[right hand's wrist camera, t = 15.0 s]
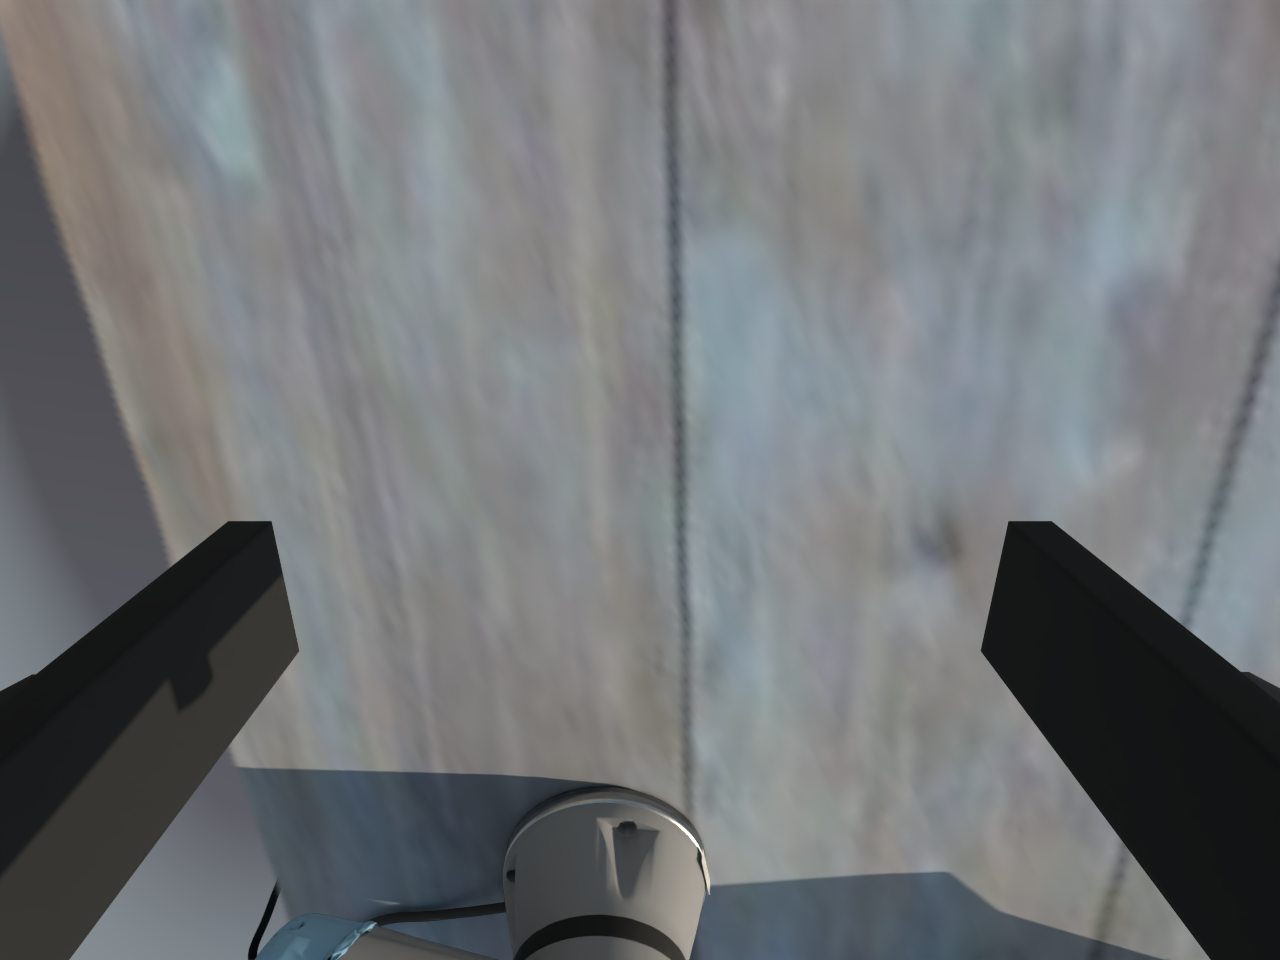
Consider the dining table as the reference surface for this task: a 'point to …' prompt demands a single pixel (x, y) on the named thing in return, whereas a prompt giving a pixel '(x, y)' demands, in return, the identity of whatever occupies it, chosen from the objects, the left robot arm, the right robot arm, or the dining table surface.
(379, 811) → the dining table surface
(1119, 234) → the dining table surface
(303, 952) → the right robot arm
